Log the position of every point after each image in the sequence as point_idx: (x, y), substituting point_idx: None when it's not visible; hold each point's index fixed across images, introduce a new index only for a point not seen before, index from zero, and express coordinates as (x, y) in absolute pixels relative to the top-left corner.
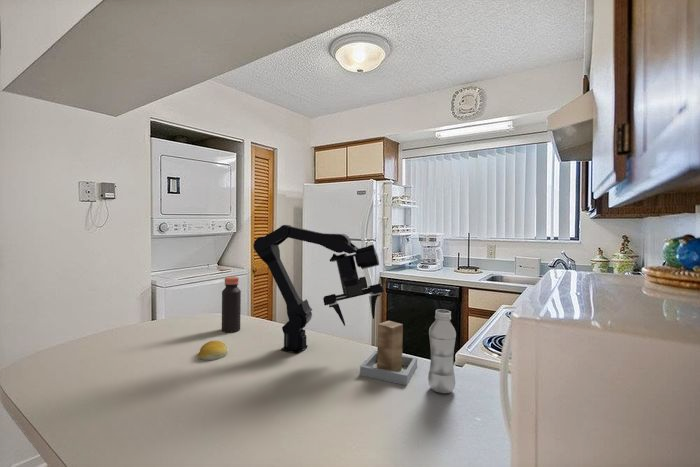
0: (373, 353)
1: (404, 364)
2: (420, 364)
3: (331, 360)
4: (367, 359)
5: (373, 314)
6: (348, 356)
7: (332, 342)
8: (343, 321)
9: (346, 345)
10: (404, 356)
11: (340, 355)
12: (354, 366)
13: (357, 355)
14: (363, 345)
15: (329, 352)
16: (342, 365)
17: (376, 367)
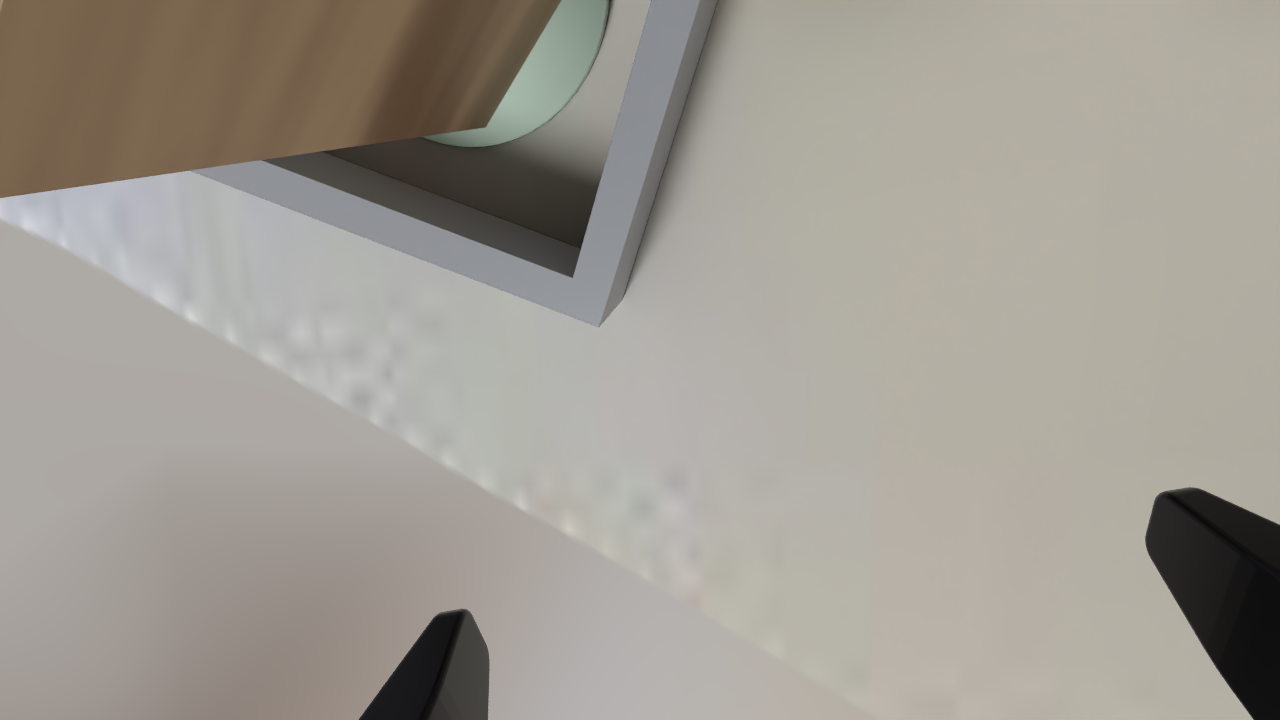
0: (616, 228)
1: (327, 157)
2: (203, 196)
3: (1166, 200)
4: (688, 6)
5: (407, 684)
6: (924, 338)
7: (1097, 708)
8: (1273, 551)
9: (932, 626)
10: (276, 176)
11: (1025, 361)
12: (861, 47)
13: (815, 371)
14: (745, 619)
15: (1167, 443)
16: (1021, 55)
17: (596, 20)
